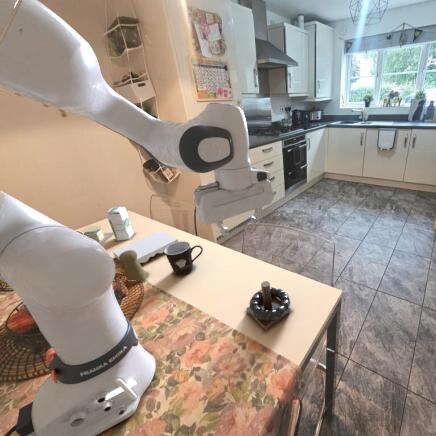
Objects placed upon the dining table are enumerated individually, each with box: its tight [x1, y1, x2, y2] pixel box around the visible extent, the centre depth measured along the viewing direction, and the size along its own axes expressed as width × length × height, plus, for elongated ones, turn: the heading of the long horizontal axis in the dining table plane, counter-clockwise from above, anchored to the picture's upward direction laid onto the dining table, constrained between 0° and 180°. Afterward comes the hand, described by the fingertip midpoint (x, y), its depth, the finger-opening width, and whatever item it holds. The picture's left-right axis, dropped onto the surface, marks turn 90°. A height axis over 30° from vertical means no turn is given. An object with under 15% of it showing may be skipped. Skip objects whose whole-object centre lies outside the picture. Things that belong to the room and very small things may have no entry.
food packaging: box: [112, 230, 179, 264], centre depth 102 cm, size 15×3×20 cm
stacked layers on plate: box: [81, 225, 112, 245], centre depth 113 cm, size 10×9×6 cm
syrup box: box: [105, 206, 135, 241], centre depth 112 cm, size 6×6×14 cm
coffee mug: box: [163, 240, 204, 277], centre depth 88 cm, size 12×9×10 cm
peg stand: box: [246, 280, 291, 331], centre depth 69 cm, size 9×9×10 cm
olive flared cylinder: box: [118, 250, 147, 285], centre depth 85 cm, size 6×6×11 cm
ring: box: [248, 286, 291, 321], centre depth 70 cm, size 12×12×3 cm
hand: (240, 228), depth 64 cm, fingers open, 8 cm apart
